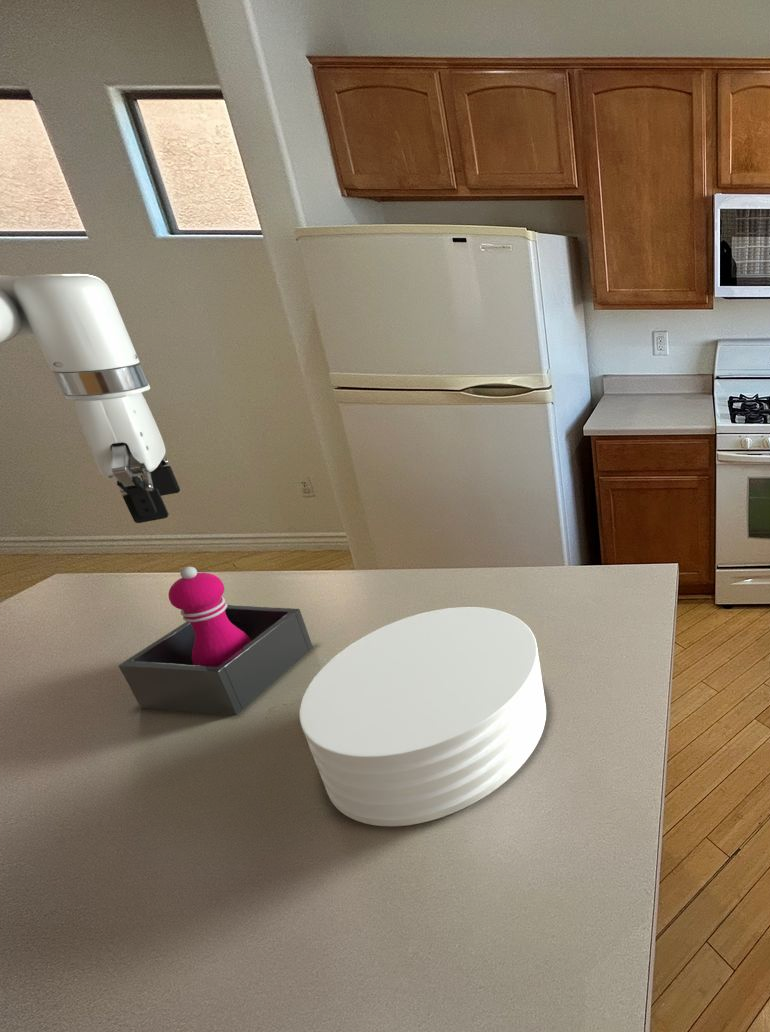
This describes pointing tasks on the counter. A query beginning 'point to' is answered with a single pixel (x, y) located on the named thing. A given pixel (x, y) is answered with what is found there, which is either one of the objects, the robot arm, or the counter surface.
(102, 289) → the robot arm
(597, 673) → the counter surface
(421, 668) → the plate stack
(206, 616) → the pepper mill
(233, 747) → the counter surface
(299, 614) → the open box
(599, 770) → the counter surface
